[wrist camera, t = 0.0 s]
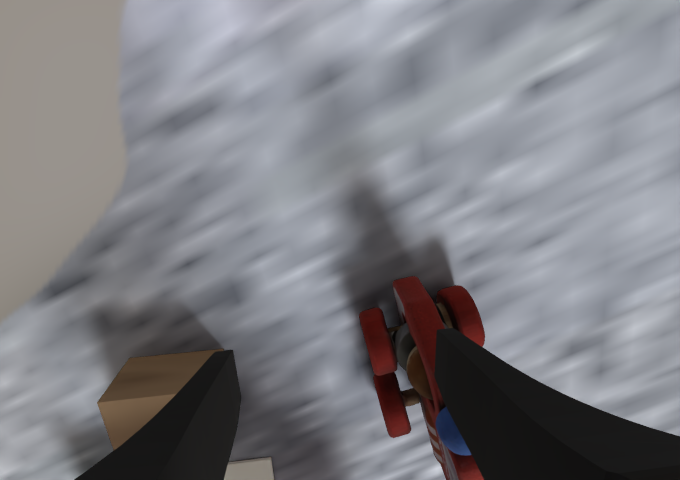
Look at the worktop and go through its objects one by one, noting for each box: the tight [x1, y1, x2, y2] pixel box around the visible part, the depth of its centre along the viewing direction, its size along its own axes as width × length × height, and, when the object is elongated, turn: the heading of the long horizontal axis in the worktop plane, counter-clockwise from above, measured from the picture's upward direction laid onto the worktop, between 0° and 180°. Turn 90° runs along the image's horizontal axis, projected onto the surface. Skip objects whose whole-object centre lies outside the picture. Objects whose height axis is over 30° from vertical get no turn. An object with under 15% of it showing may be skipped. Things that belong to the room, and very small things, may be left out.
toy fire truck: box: [359, 276, 485, 480], centre depth 20 cm, size 7×12×10 cm, turn 13°
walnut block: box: [97, 349, 224, 450], centre depth 22 cm, size 6×6×4 cm
